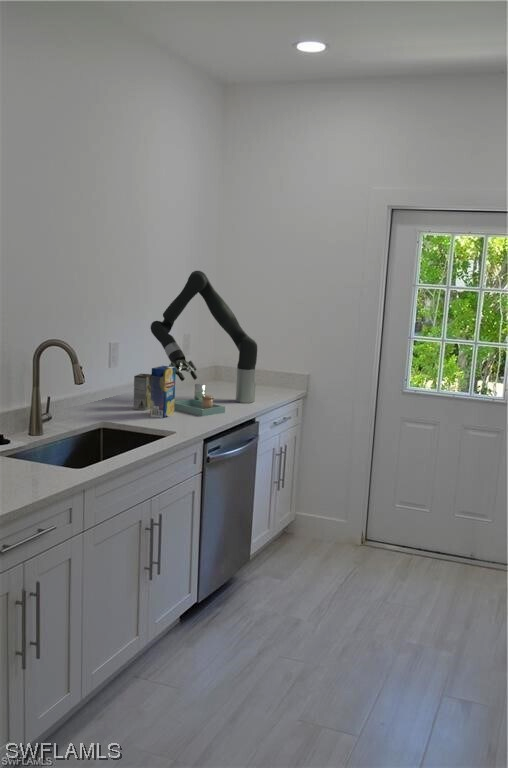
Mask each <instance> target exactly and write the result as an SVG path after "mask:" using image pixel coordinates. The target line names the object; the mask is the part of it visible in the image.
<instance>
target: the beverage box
mask: <svg viewBox="0 0 508 768" xmlns="http://www.w3.org/2000/svg"><path fill="white" fill-rule="evenodd" d="M176 369H177V368H176V367H170V366H169V365H160V366H156V367H152V368H151V374H152V375H151V405H150V408H149V410H150V411H149V413H150V414H149V416H150V417H151V418H152V417H153V418H159V417H160V419H166V418H168V417H169V415H172V414H173V413H175V410H174V402H175V399H176V397H175V395H176V377H177V376H176Z"/></svg>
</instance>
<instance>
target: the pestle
mask: <svg viewBox="0 0 508 768" xmlns="http://www.w3.org/2000/svg"><path fill="white" fill-rule="evenodd" d="M213 404H214V396H213V395H207V394H205V395H204V396H202V409H208V408H213Z"/></svg>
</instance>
